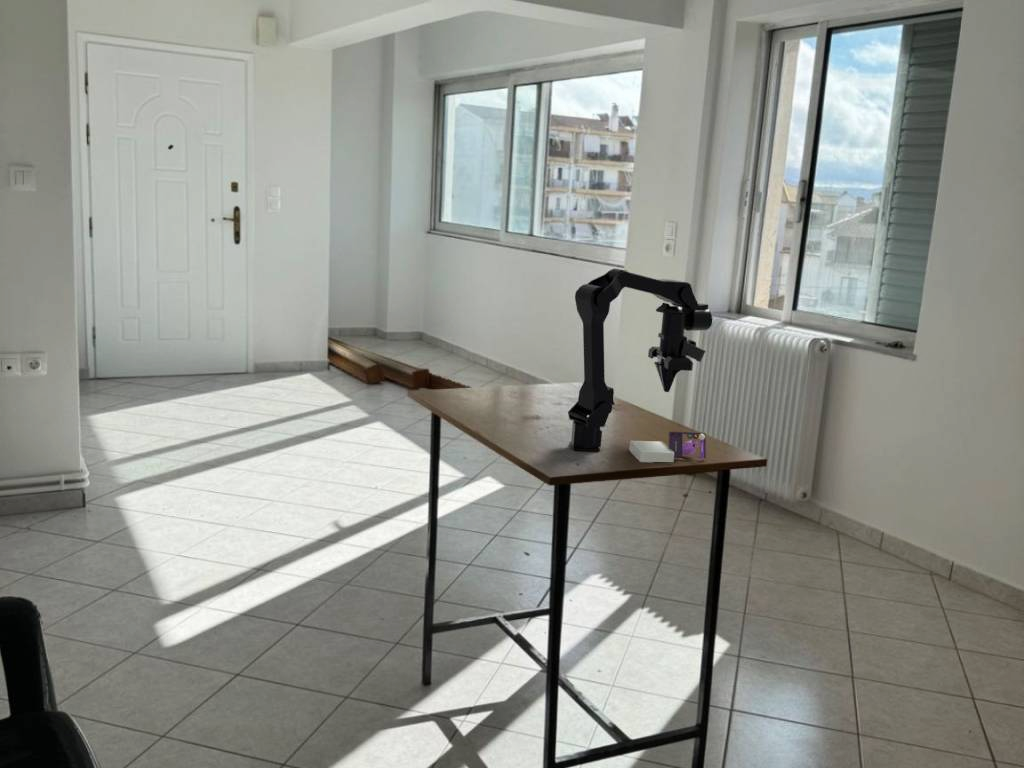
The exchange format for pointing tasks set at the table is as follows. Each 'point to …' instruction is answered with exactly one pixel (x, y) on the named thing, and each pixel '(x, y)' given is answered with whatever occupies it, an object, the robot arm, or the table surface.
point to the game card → (686, 444)
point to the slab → (651, 451)
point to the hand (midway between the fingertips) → (666, 391)
